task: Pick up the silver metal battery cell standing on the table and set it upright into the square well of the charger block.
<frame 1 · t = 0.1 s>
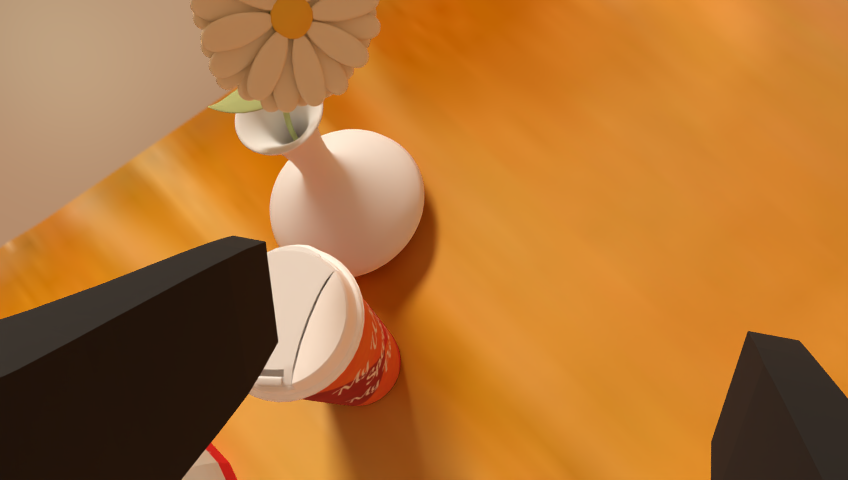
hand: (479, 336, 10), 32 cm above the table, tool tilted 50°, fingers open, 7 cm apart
flower in vase: (364, 208, 47), on the table
paper cup: (361, 363, 43), on the table
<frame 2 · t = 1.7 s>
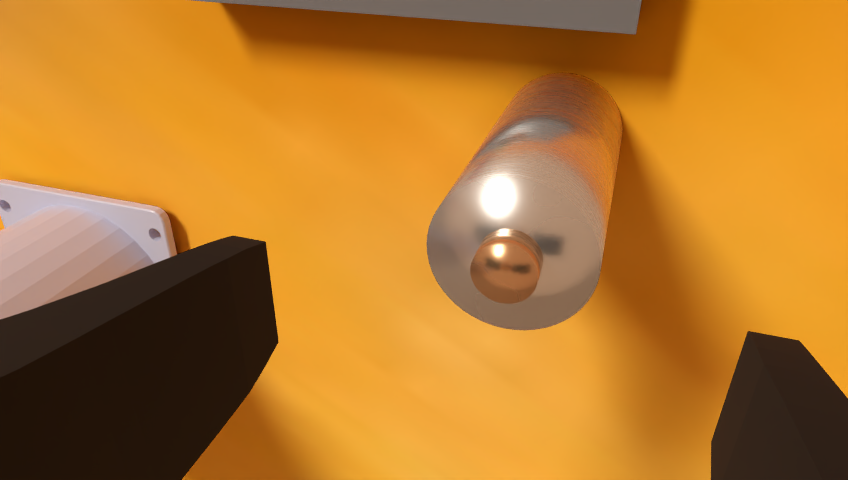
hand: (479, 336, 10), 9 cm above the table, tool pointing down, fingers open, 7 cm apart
battery cell: (561, 131, 17), on the table
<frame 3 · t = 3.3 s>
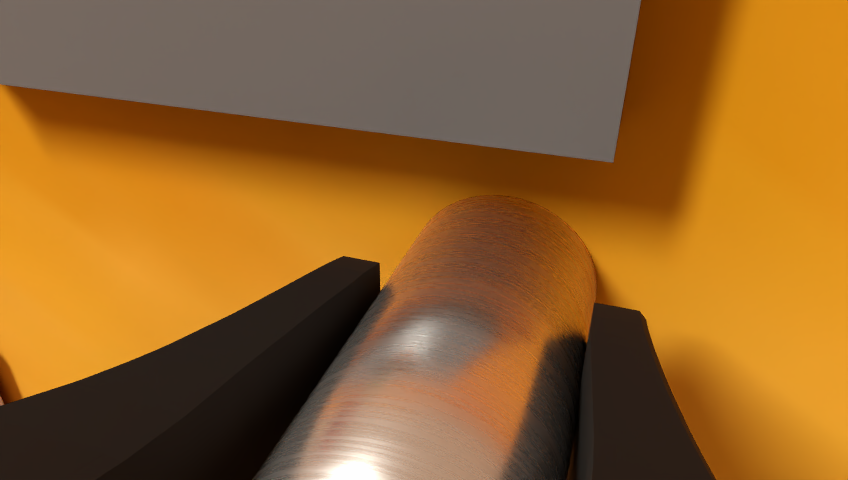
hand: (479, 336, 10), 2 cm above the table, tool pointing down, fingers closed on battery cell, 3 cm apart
battery cell: (500, 280, 11), on the table, touching gripper
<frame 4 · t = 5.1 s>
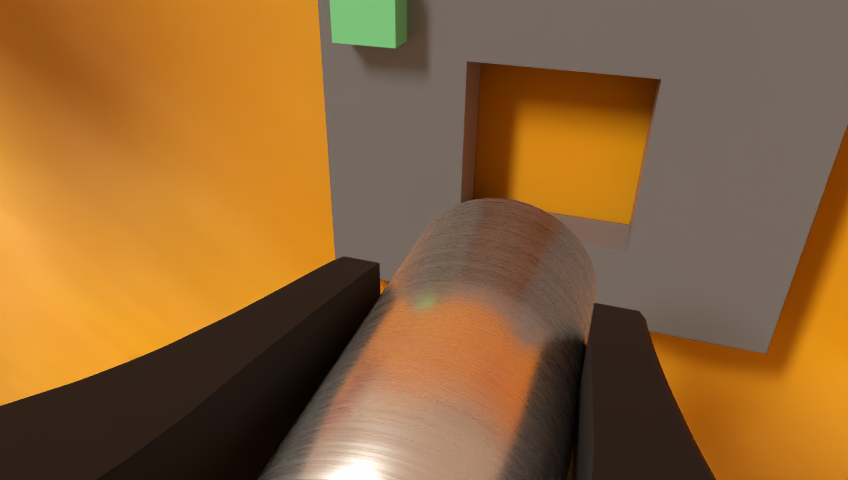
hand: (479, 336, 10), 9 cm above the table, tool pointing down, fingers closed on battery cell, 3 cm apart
charger block: (558, 138, 17), on the table
battery cell: (501, 282, 11), point 7 cm above the table, touching gripper
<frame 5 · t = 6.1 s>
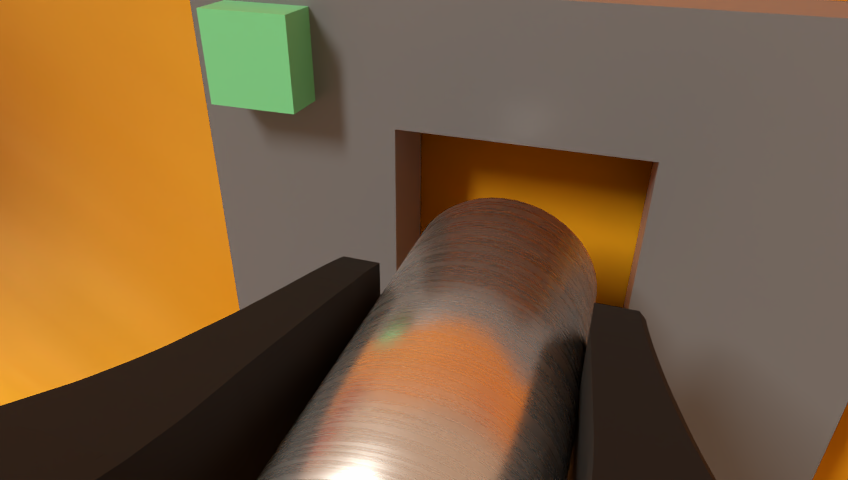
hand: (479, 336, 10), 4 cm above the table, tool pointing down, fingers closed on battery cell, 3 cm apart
charger block: (524, 221, 13), on the table
battery cell: (501, 282, 11), point 2 cm above the table, touching gripper
when the fingers open (2 cm above the table, at t = 6.9 s): battery cell stays where it is, resting in charger block.
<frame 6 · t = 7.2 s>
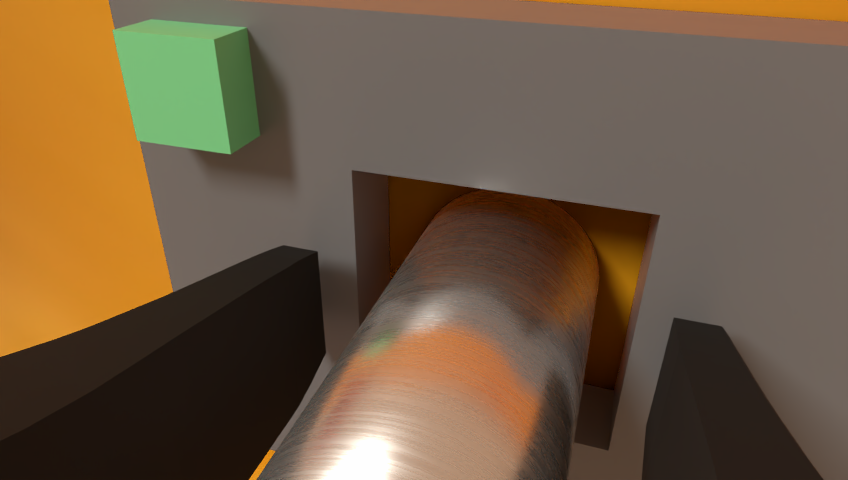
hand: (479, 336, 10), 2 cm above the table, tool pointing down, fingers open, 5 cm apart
charger block: (505, 269, 11), on the table
battery cell: (506, 270, 11), resting in charger block
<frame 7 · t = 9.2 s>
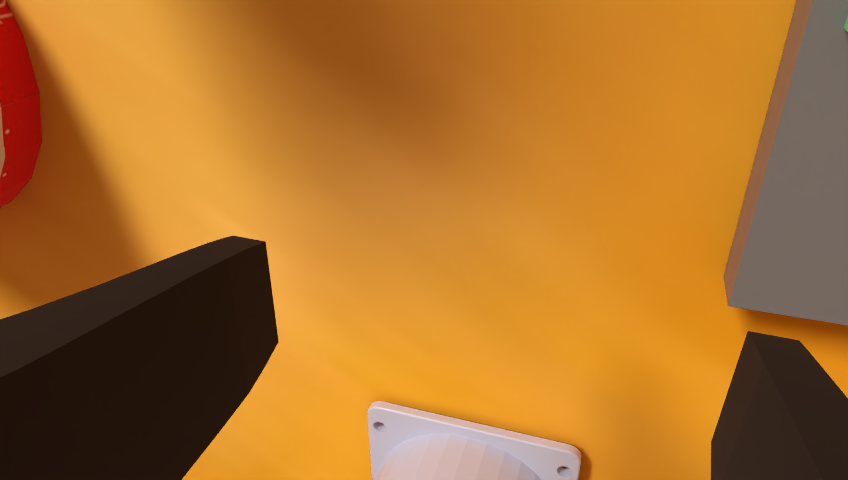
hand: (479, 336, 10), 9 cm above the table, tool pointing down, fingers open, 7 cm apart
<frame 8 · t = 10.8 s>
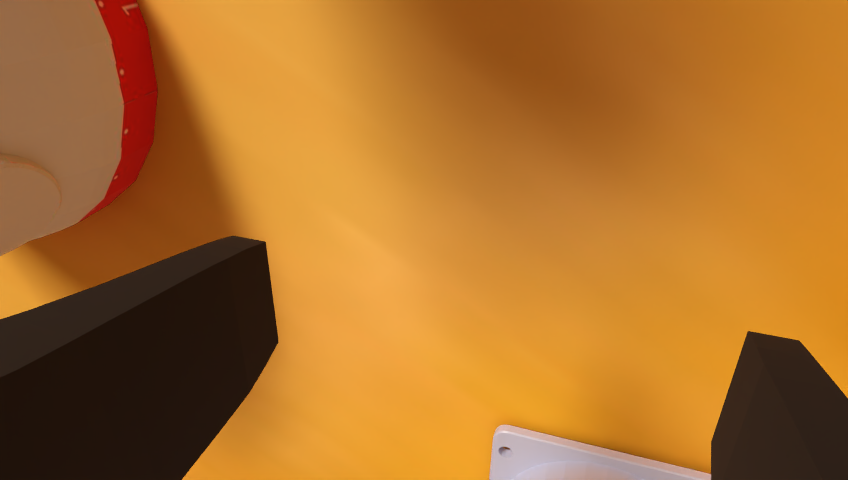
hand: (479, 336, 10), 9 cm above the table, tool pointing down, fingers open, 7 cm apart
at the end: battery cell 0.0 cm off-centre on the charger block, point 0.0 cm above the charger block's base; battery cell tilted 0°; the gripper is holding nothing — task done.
